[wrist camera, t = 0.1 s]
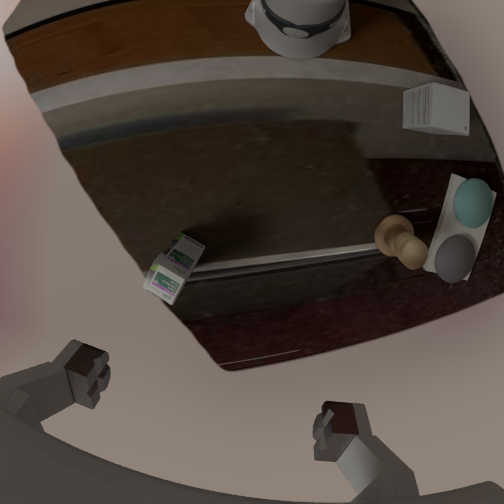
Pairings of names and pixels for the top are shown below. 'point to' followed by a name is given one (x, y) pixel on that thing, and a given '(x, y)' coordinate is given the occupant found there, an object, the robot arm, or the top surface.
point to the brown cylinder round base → (400, 241)
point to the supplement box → (436, 109)
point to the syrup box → (173, 268)
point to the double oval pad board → (460, 228)
